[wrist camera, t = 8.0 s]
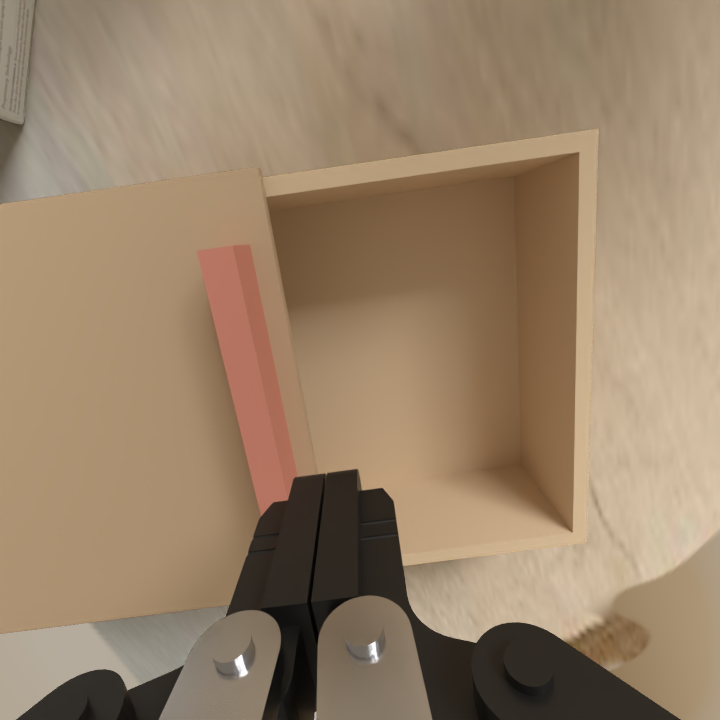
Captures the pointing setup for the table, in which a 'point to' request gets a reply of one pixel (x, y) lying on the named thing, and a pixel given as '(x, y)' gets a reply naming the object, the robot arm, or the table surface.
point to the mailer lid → (141, 397)
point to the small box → (15, 57)
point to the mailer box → (450, 335)
